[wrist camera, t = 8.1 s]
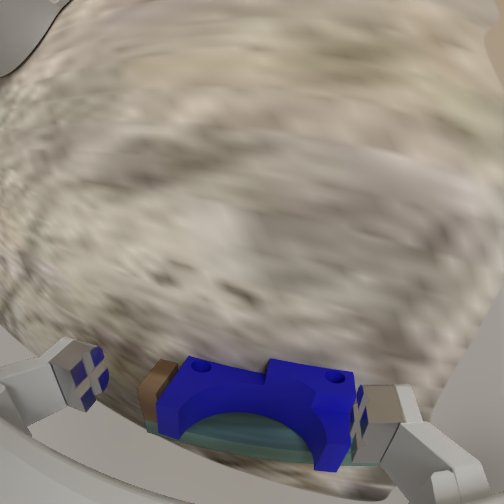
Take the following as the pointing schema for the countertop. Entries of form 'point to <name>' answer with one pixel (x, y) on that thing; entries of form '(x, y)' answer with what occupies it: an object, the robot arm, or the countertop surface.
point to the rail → (229, 427)
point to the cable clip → (266, 402)
